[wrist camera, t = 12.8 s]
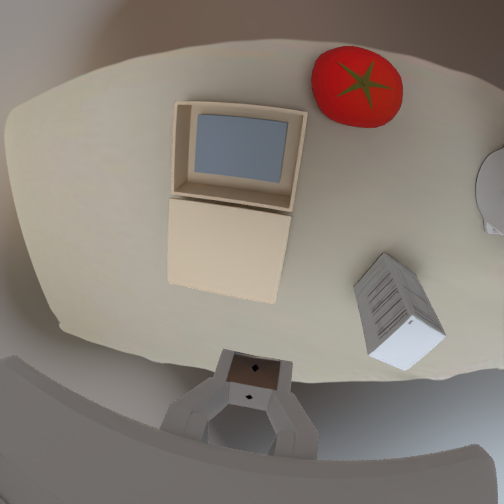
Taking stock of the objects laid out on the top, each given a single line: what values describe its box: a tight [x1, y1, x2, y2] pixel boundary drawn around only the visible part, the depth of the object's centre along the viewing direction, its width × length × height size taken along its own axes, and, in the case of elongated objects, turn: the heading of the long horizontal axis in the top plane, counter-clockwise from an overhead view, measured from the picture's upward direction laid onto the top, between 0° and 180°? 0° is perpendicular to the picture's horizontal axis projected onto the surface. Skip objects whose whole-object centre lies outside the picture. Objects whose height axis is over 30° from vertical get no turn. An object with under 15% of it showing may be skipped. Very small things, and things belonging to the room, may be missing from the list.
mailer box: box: [171, 101, 308, 212], centre depth 38 cm, size 18×14×6 cm
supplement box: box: [354, 253, 446, 371], centre depth 40 cm, size 10×9×17 cm
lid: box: [168, 198, 292, 305], centre depth 42 cm, size 18×14×1 cm
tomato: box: [311, 46, 403, 128], centre depth 29 cm, size 11×12×10 cm
